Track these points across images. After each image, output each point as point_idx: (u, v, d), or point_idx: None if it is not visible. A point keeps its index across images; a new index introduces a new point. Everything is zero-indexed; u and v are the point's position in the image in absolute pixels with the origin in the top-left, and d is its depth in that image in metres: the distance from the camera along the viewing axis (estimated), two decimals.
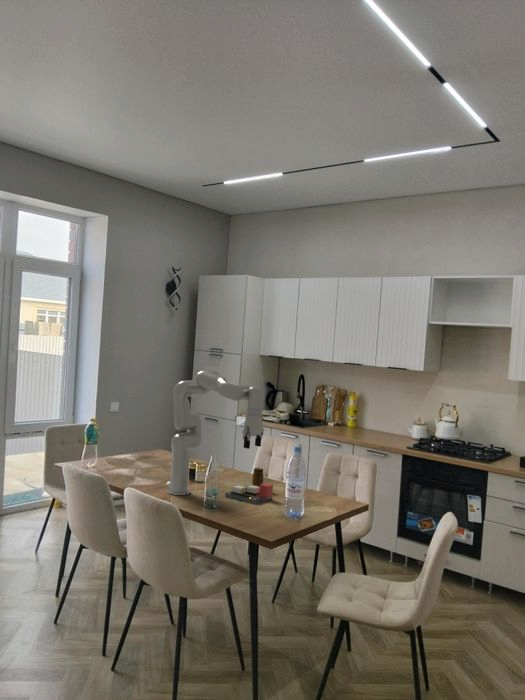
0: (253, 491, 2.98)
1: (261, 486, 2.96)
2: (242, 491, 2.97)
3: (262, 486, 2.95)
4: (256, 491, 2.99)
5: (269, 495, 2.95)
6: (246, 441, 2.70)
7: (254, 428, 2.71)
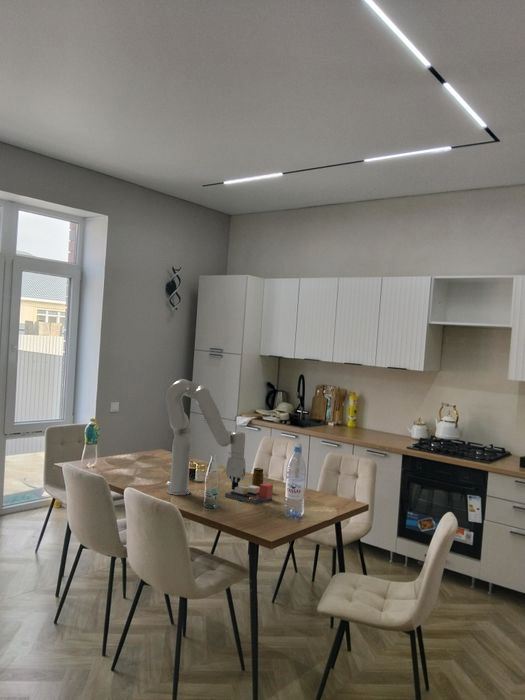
0: (253, 491, 2.98)
1: (261, 486, 2.96)
2: (244, 491, 2.96)
3: (262, 486, 2.95)
4: (256, 491, 2.99)
5: (269, 495, 2.95)
6: (237, 483, 3.00)
7: None
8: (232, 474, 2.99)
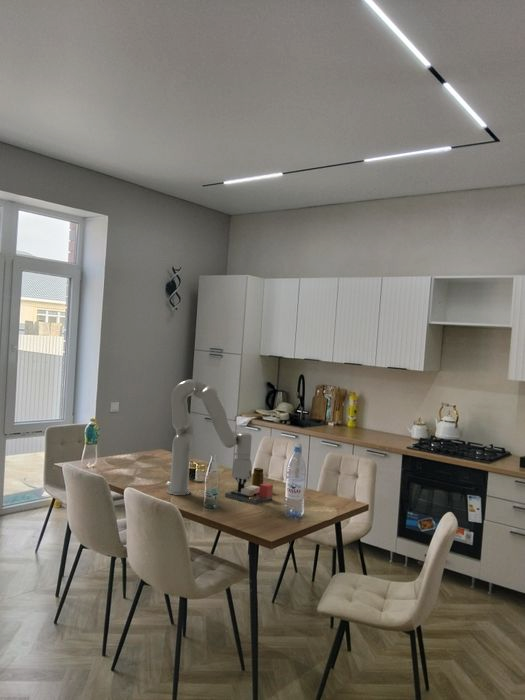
0: None
1: (261, 486, 2.96)
2: (250, 493, 2.94)
3: (262, 486, 2.95)
4: (256, 491, 2.99)
5: (269, 495, 2.95)
6: (243, 484, 2.98)
7: None
8: (238, 476, 2.96)
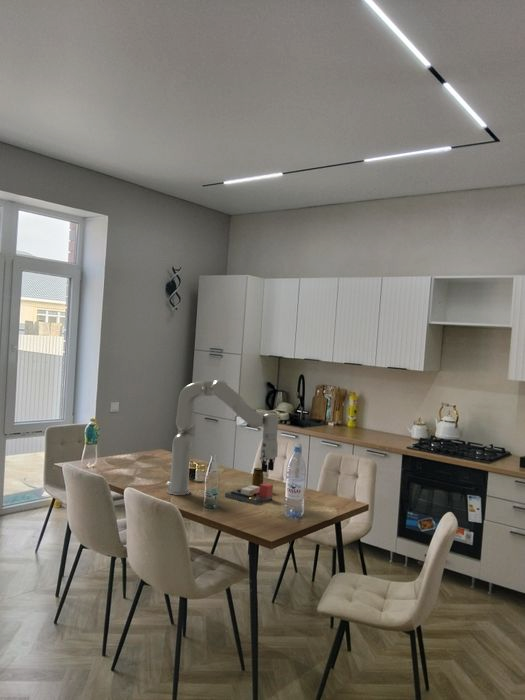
0: None
1: (261, 486, 2.96)
2: (250, 493, 2.94)
3: (262, 486, 2.95)
4: (256, 491, 2.99)
5: (269, 495, 2.95)
6: None
7: None
8: (272, 456, 2.95)
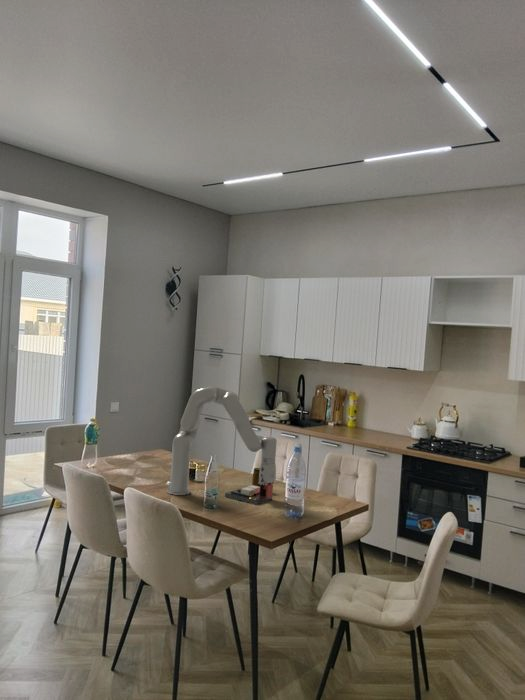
0: None
1: None
2: (250, 493, 2.94)
3: None
4: (256, 491, 2.99)
5: (269, 495, 2.95)
6: None
7: None
8: (271, 480, 2.95)
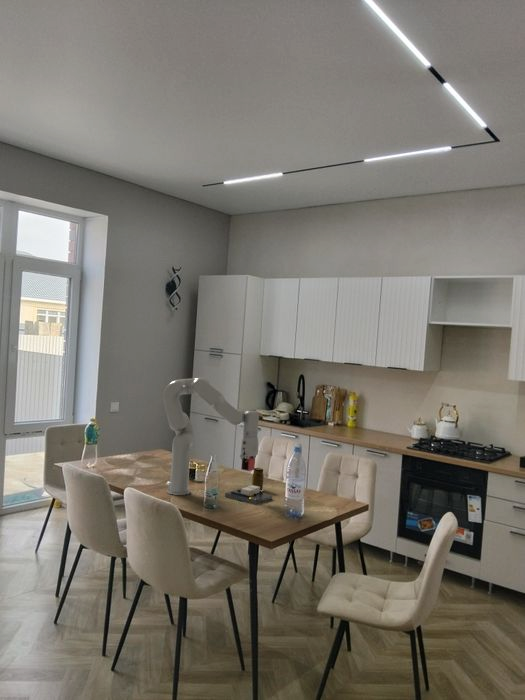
0: None
1: None
2: (250, 493, 2.94)
3: None
4: (256, 491, 2.99)
5: (251, 468, 2.95)
6: None
7: None
8: (253, 454, 2.95)
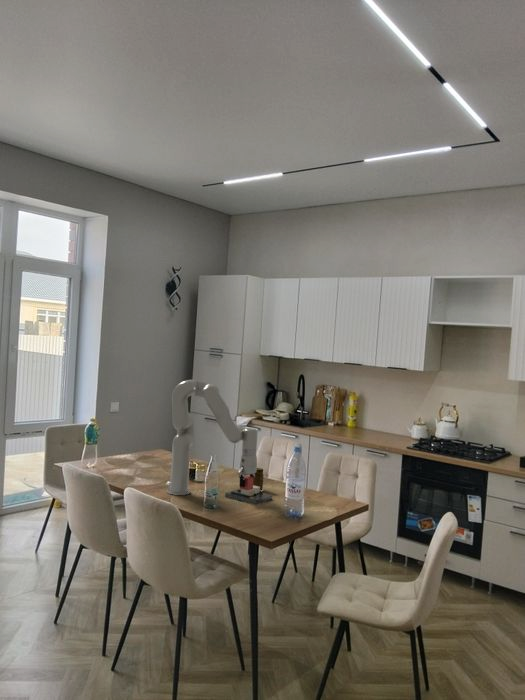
0: None
1: None
2: (250, 493, 2.94)
3: None
4: (256, 491, 2.99)
5: (250, 488, 2.95)
6: None
7: None
8: (251, 471, 2.95)
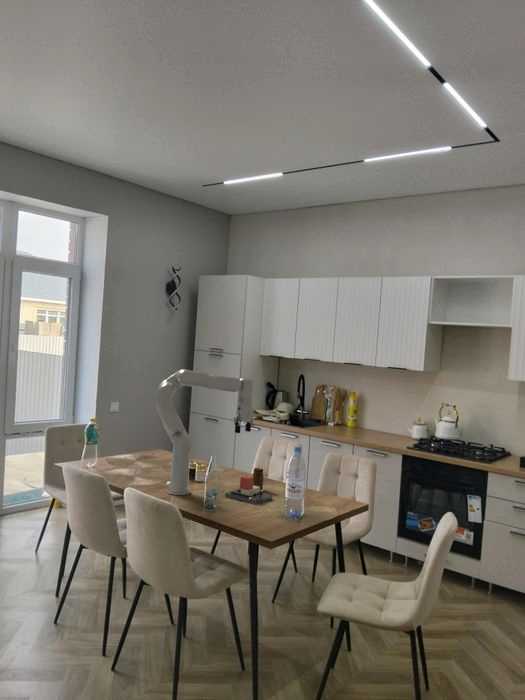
0: None
1: (242, 479, 2.95)
2: (250, 493, 2.94)
3: (243, 478, 2.95)
4: (256, 491, 2.99)
5: (250, 488, 2.95)
6: None
7: None
8: (247, 419, 3.06)
